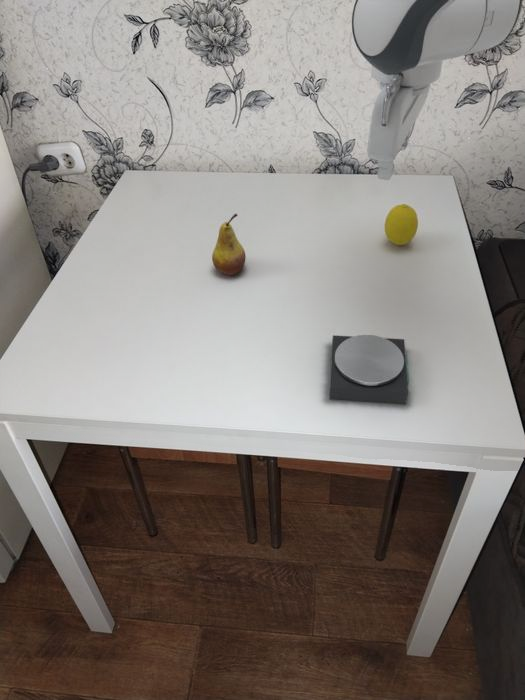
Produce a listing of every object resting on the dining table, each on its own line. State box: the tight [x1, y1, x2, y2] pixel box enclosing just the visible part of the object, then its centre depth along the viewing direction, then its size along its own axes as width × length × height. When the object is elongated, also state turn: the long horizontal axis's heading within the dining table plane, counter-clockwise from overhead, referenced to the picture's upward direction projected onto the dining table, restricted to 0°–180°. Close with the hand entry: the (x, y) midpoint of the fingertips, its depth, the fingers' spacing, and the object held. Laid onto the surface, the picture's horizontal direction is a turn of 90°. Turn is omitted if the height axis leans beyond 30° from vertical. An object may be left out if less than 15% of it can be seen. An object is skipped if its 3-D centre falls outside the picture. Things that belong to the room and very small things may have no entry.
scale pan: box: [335, 334, 404, 386], centre depth 79 cm, size 9×9×1 cm
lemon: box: [384, 203, 419, 246], centre depth 101 cm, size 6×6×8 cm
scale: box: [329, 334, 410, 406], centre depth 81 cm, size 10×10×3 cm
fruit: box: [211, 213, 247, 276], centre depth 96 cm, size 6×6×12 cm
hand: (393, 162), depth 85 cm, fingers open, 8 cm apart
